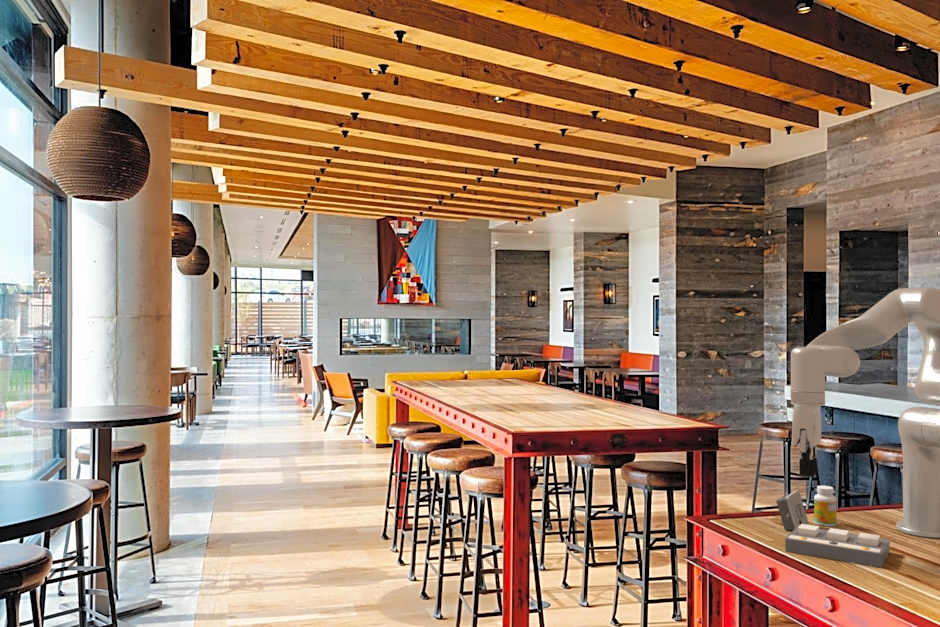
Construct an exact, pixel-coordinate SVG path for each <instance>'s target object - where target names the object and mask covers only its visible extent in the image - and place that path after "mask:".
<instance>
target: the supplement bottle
mask: <svg viewBox="0 0 940 627" xmlns="http://www.w3.org/2000/svg"><path fill="white" fill-rule="evenodd" d="M834 490H835V488H834V487H833V486H830V485H829V486H828V485H817V487H816V492H817V494H815V495H814V497H813V498H814V501H813V506H814V509H813V510H814V511H813V514H814V515H813V516H814V518H813V521H814V524H816V525H817V526H821V525H825V526H824V527H835V526H836V525H837V522H838V521H837V520H838V519H837V512H838V511H837V506H838V505H837V503H838V502H837V501H838V500H837V497H836V496H835V495H834V492H835V491H834ZM834 525H835V526H834Z"/></svg>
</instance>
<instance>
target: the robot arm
mask: <svg viewBox="0 0 940 627" xmlns="http://www.w3.org/2000/svg"><path fill="white" fill-rule="evenodd" d="M911 323H913V324H914V326H915V328H916V329H917V330H918V332H919V334H920V336H921V338H922V341H923V352H922V356H921V360H920V364H919V368H918V372H917V375H916V380H915V386H914V392H915V393H914V394H915V395H916V397H917V398H918V399H919V400H920V401H923V402H925V403H929V404H934V405H940V288H936V287H926V286H925V287H903V288H898V289H894V290H893V291H891V292H890V293H888V294H887V295H885V296H884V297H883V298H882V299H880V300H879V301H877V303H875V304H874V305H873V306H872V307H870V308H869V309H867V311H865V312H863V314H860V316H857V317H856V318H854V319H850V320H849V321H846V322H844V323H841V324H839V325H837V326H834V327H833V328H830V329H828V330H826V331H825V332H822V333H821V334H820V335H818V336H817V337H815V338H814V339H813V340H811V341H810V342H809V343H808V344H807V345H806V346H798V347H794V348H792V349H791V352H790V405H792V406H793V411H792V423H791V424H792V426H791V427H792V428H791V429H792V430H791V445H792V446H793V447H796V446H798V445H799V475H800V476H801V477H810V478H813V477H814V476H816V475H817V474H818V473H817V471H818V467H817V464H818V463H817V462H818V458H817V446H818V445H819V444H820V443H821V440H822V409H821V407H824V406H826V377H832V378H847V377H850V376H853V375H854V374H856V372H858V370H859V369H860V365H861V360H860V356H859V354H858V353H857V352H856V351H857V350H861V349H863V350H864V349H869V348H872V347H873V348H874V347H877V346H880V345H883V344H885V343H886V342H888V341H889V340H890V339H891V338H893V337H894V336H895V335H896V334H898V333H899V332H900V331H902V330H903V329H904V328H905V327H906V326H907V325H909V324H911ZM897 428H898V434H899V438H900V443H901V449H902V451H901V452H902V500H903V501H902V514H903V516H902V519H901V520H899V521H897V522H896V524H895V527H896V529H897V530H898V531H901V532H903V533H906V534H908V535H913V536H918V537H924V538H934V539H935V538H938V539H940V409H939V408H935V407H928V406H912V407H908V408H906V409H904V410H903V411H902V412H901V413H900V415H899V417H898V420H897Z"/></svg>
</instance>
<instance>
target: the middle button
mask: <svg viewBox="0 0 940 627" xmlns="http://www.w3.org/2000/svg"><path fill="white" fill-rule="evenodd" d="M828 530H829V531H828V532H827V539H831V540H837V541H843V542H848V540H849V533H850V530H846V529H845V530H844V529H841V528H840V529H839V528H832V527H829V529H828Z"/></svg>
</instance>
